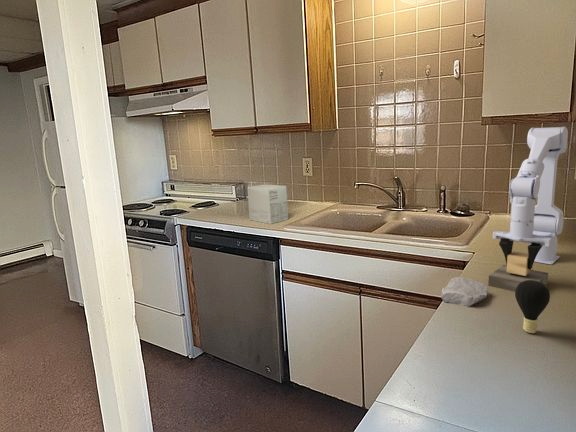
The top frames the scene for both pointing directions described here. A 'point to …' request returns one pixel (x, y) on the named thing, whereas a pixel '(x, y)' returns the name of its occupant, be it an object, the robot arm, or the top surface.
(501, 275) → the base block
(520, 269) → the maple cube
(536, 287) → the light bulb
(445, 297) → the stone block
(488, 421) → the top surface
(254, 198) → the supplement box
